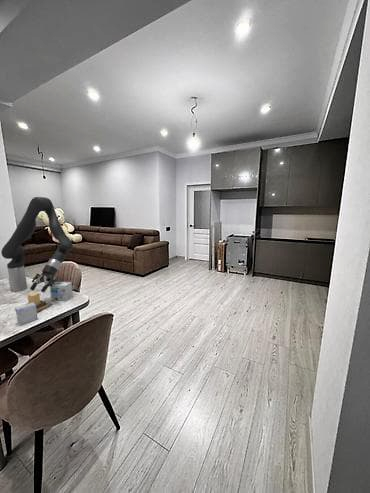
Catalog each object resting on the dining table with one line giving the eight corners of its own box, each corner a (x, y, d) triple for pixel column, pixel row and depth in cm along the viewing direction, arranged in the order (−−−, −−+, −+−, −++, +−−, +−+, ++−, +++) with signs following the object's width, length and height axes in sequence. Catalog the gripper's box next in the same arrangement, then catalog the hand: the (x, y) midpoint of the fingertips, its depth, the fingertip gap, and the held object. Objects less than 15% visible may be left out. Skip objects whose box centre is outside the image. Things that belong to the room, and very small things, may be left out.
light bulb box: (51, 300, 129) (49, 285, 127) (57, 296, 135) (56, 281, 133) (67, 301, 128) (65, 285, 126) (73, 296, 135) (71, 281, 133)
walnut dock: (17, 312, 114) (16, 306, 114) (37, 302, 126) (36, 297, 125) (33, 315, 111) (32, 309, 111) (52, 305, 123) (51, 300, 122)
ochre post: (29, 307, 117) (27, 295, 116) (35, 304, 121) (34, 292, 119) (34, 308, 116) (32, 296, 114) (41, 305, 120) (39, 293, 118)
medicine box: (35, 316, 110) (33, 302, 108) (38, 319, 107) (35, 304, 106) (17, 322, 104) (14, 307, 102) (19, 325, 101) (17, 310, 100)
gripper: (39, 263, 126) (22, 286, 118) (56, 265, 123) (41, 290, 114) (47, 269, 132) (32, 291, 124) (64, 271, 129) (50, 294, 120)
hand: (36, 290), depth 119 cm, fingers open, 8 cm apart
